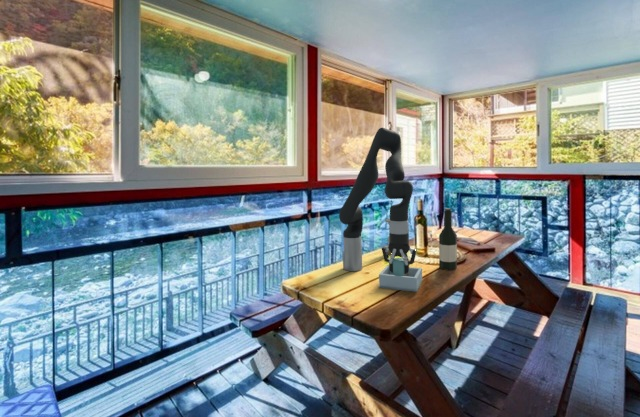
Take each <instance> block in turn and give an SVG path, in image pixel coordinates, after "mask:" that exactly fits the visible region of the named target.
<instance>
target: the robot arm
mask: <svg viewBox="0 0 640 417" xmlns="http://www.w3.org/2000/svg"><path fill="white" fill-rule="evenodd" d="M380 150H382V151H385V152H389V153H390V154H391V155H390V156H389V157H388V158H387V159H386V163H385V166H384V167H385V174H386V184H385V187H384V194H385V197H386V198H388V199H389V200H400V199H401V202H399V203H397V204H393V205H391V206H390V207H389V219H390V223H389V224H388V230H389V231H388V234H389V235H388V237H389V243H388V244H389V246H387V245H384V246H382V247H381V251H382V252H381V253H382V257H383V259H384V260H383V261H384V262H386V263H388V265H389V270H390V271H391V273H393V259H394V258H403V260H404V262H405V274H407V273H408V272H409V267H410V265H413V264H414V262H415V260H416V256H417V253H418V252H417V251H418V249H417V248H412V247H411V246H410V245H409V243H410V228H409V206H410V203H411V199H412V197H413V196H412V195H413V193H414V187H413V184H412V182H411V181H410V180H404V179H405V175H406V174H405V171H404V167H403V166H404V165H403V160H402V136H401V135H400V133H399V132H397V131H394V130H392V129H388V128H386V127H379V128H378V129H377V131H376V132H375V135H374V137H373V140H372V142H371V145H370V147H369V151H368V153H367V155H366V158H365V160H364V161H363V162H364V163H363V165H362V167H361V168H360V170H359V173H358V175H357V177H356V179H355V181H354V184H353V186H352V188H351V190H350V192H349V195H348V196H347V198H346V200H345V201H344V203H343V205H342V206H341V208H340V209H339V214H338V217H339V221H340V223H341V224H343V225H347V227H346V228H345V229H344V230H343V232H342V235H343V237H342V238H343V239H342V240H343V251H342V269H343V270H345V271H348V272H359V271H361V270H363V249H362V247H363V246H362V231H363V228H364V227H363V223H364V222H363V220H364V217H363V216H364V215H363V214H364V213H363V211H362V208H361V207H360V204H361V203H362V202H363V201H364V200H365V199H366V198H367V197H368V195H369V194H370V193H371V192H372V190H374V188H375V186H376V183H377V182H378V179H379V167H378V160H377V159H378V154H379V151H380ZM388 249H389V250H390V251H391V253H392V254H391V255H390V257H389V255H388V253H387V251H388ZM409 252H410V254H411V257H410V260H409V256H408V253H409Z"/></svg>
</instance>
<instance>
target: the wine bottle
mask: <svg viewBox="0 0 640 417" xmlns="http://www.w3.org/2000/svg"><path fill="white" fill-rule="evenodd" d="M443 212H444V213H443V214H444V217H443V218H444V223H443V224H444V225H443V226H444V227H443V229H442V230H441V232H440V233H439V235H438V240H439V241H438V242H439V243H438V247H439V248H438V254H439V255H438V257H439V258H438V259H439V260H438V262H439V263H438V265H439V269H440V270H444V271H455V270H457V268H458V265H457V264H458V261H457V260H458V255H457V254H458V250H457V249H458V235H457V233H456V232H455V230H454V228H453V227H452V225H453V224H452V221H453V219H452V214H453V213H452V212H453V211H452V209H451V208H445V210H444V211H443Z"/></svg>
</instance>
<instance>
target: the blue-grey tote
mask: <svg viewBox="0 0 640 417" xmlns="http://www.w3.org/2000/svg"><path fill="white" fill-rule="evenodd" d="M408 273H409V276H394V275H393V273H391V271H390V270H389V264H388V265H386V266H385V267H384V268H383V269H382V270H381V271H380V272H379V274H378V282H379V283H378V287H379V289H387V290H396V291H402V292H403V291H405V292H413V293H417V292H418V291H419V288H420V286H421V284H422V282H423V268H422V267H411V266H409V272H408Z"/></svg>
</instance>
